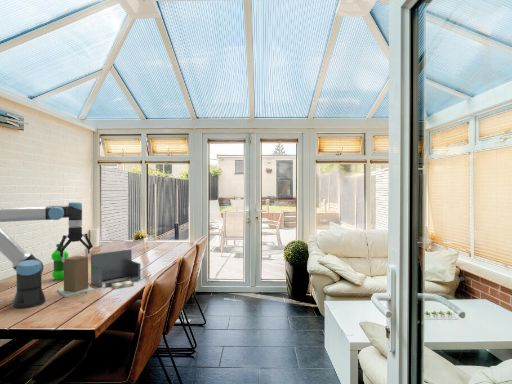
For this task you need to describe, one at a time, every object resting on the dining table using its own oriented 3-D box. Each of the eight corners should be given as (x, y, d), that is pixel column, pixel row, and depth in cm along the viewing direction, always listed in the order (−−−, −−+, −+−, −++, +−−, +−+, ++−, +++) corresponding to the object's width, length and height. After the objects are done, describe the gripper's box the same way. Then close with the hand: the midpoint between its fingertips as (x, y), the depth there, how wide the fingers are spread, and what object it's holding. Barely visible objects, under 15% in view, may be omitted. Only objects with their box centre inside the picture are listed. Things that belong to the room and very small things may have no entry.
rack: (101, 289, 214) (101, 258, 214) (91, 284, 228) (90, 254, 227) (142, 281, 233) (142, 252, 233) (130, 276, 247) (130, 249, 247)
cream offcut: (114, 289, 212) (114, 286, 212) (111, 286, 218) (111, 283, 218) (133, 285, 219) (133, 283, 219) (130, 283, 225) (130, 280, 225)
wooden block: (88, 287, 215) (88, 256, 214) (75, 292, 205) (74, 259, 205) (77, 286, 218) (76, 255, 218) (63, 290, 209) (63, 258, 209)
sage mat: (65, 297, 199) (65, 295, 199) (56, 290, 212) (56, 289, 212) (95, 291, 211) (95, 289, 211) (85, 285, 224) (85, 283, 224)
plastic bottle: (61, 281, 235) (60, 245, 235) (48, 280, 237) (47, 245, 237) (71, 277, 245) (71, 243, 245) (59, 276, 247) (58, 242, 247)
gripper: (54, 228, 200) (54, 264, 200) (98, 225, 217) (98, 258, 217) (51, 227, 205) (51, 262, 205) (94, 225, 223) (93, 256, 223)
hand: (75, 260), depth 211 cm, fingers open, 13 cm apart
